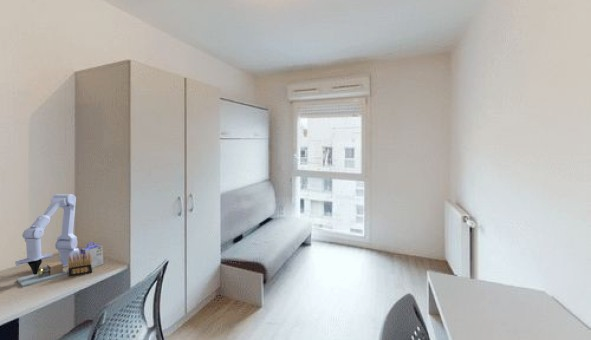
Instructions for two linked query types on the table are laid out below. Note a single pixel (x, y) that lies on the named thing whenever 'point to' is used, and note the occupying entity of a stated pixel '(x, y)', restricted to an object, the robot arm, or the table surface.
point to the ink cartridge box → (94, 254)
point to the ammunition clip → (80, 265)
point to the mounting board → (44, 275)
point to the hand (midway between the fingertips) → (35, 274)
